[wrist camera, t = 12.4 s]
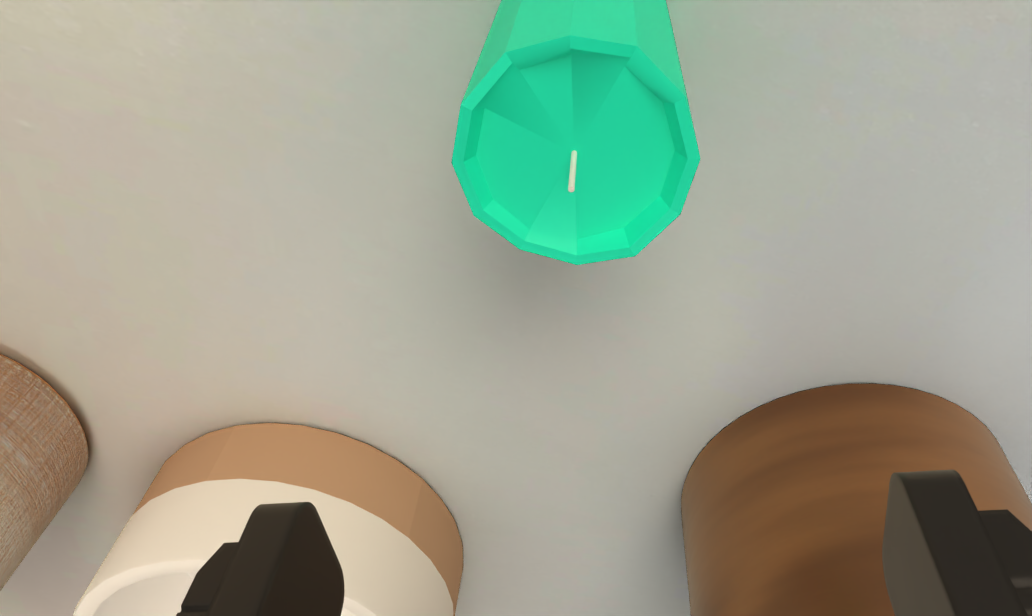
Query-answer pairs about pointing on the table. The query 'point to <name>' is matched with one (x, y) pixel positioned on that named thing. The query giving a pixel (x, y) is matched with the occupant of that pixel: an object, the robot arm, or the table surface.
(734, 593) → the stand
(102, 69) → the table surface
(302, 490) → the bowl
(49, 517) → the planter
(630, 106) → the candle
